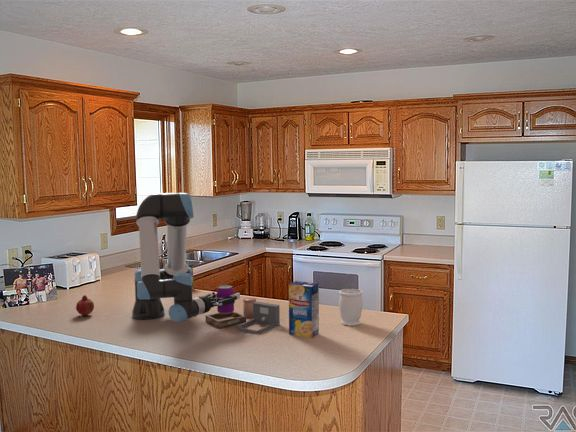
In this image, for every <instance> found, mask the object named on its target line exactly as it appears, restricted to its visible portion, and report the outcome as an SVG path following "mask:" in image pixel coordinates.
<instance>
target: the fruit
mask: <svg viewBox="0 0 576 432" xmlns="http://www.w3.org/2000/svg"><path fill="white" fill-rule="evenodd" d="M75 309H76V311H77V313H78V314H80V315H81V316H83V317H84V316H88V315H90V314H91V313H93V311H94V309H95V303H94V302H93V300H91V299H90V298H88V296H87V295H85V294H84V295H83V296H82V297H81V299H79V300H78V301H77V303H76V305H75Z"/></svg>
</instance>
